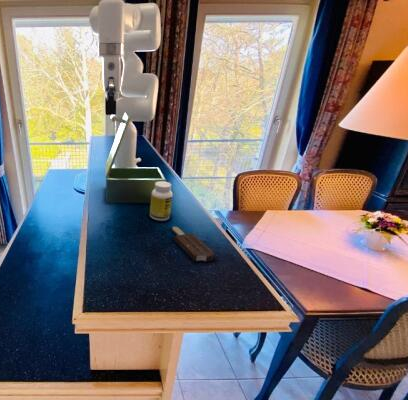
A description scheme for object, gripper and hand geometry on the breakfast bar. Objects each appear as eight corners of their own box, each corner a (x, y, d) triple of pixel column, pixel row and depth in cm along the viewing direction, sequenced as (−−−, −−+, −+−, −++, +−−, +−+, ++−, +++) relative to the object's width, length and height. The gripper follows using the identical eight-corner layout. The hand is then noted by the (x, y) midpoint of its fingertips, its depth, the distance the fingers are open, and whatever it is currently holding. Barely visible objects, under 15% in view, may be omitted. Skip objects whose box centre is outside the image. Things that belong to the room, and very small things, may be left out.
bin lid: (127, 112, 91) (112, 107, 90) (130, 118, 79) (114, 112, 79) (107, 166, 99) (94, 162, 98) (107, 178, 88) (92, 173, 87)
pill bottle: (165, 223, 79) (170, 189, 74) (146, 218, 82) (149, 185, 77) (172, 215, 84) (176, 182, 79) (153, 210, 87) (156, 178, 82)
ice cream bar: (165, 231, 75) (196, 264, 62) (165, 226, 74) (197, 258, 61) (181, 228, 76) (215, 260, 63) (182, 223, 76) (217, 254, 63)
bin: (156, 189, 103) (158, 167, 99) (163, 203, 91) (165, 179, 87) (106, 188, 103) (106, 167, 99) (106, 203, 92) (106, 179, 88)
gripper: (126, 49, 70) (123, 116, 77) (122, 53, 85) (120, 108, 93) (97, 49, 70) (98, 116, 77) (98, 53, 85) (99, 108, 93)
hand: (110, 112), depth 85 cm, fingers open, 9 cm apart
